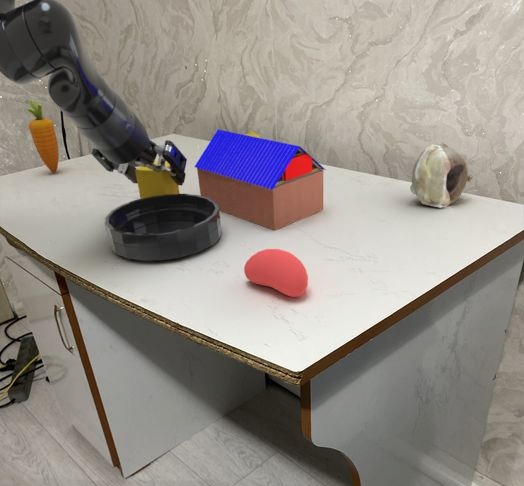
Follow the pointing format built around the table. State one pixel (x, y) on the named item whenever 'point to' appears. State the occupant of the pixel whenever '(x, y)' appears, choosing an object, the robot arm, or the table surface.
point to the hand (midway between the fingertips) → (159, 179)
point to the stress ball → (277, 271)
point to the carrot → (44, 137)
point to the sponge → (155, 182)
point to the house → (260, 179)
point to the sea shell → (439, 176)
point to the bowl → (163, 226)
